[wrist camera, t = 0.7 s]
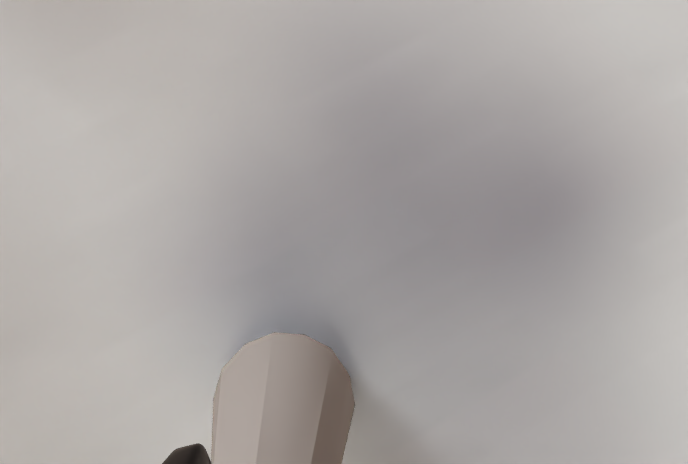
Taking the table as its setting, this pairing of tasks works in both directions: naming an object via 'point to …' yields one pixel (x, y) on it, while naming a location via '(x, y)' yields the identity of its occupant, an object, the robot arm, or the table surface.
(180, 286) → the table surface
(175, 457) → the robot arm
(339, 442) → the salt shaker
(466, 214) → the table surface
